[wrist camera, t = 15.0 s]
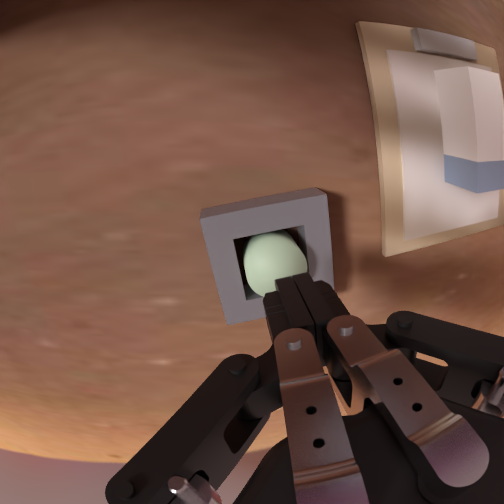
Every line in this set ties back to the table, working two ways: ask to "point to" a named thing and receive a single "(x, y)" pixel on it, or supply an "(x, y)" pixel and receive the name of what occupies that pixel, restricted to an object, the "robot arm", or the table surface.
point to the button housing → (261, 221)
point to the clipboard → (420, 136)
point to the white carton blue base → (472, 128)
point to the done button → (271, 260)
